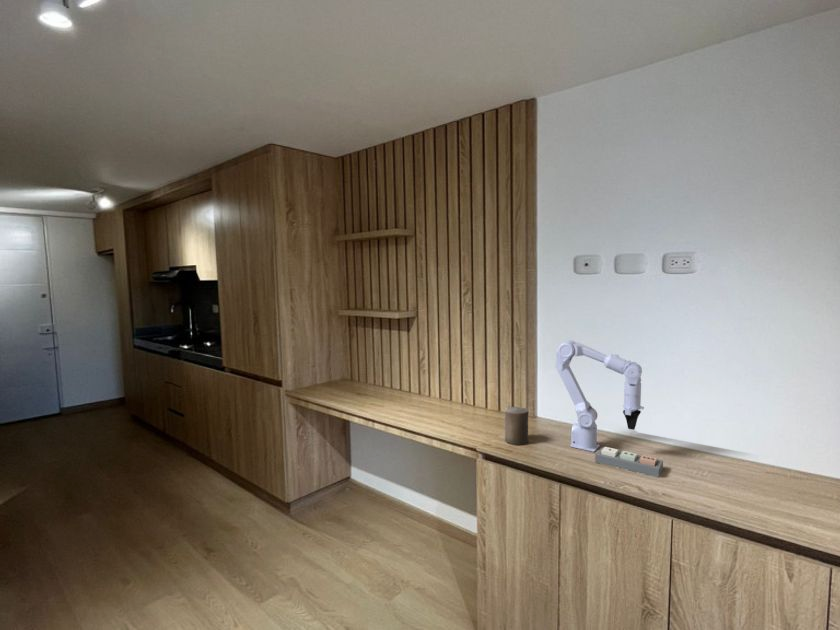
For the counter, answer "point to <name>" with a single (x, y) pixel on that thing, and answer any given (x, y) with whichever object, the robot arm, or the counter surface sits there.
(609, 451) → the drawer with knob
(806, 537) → the counter surface
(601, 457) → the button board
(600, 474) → the counter surface
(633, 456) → the tile
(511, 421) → the pillar candle
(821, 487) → the counter surface
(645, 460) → the three-pip tile
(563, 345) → the robot arm
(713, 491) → the counter surface
